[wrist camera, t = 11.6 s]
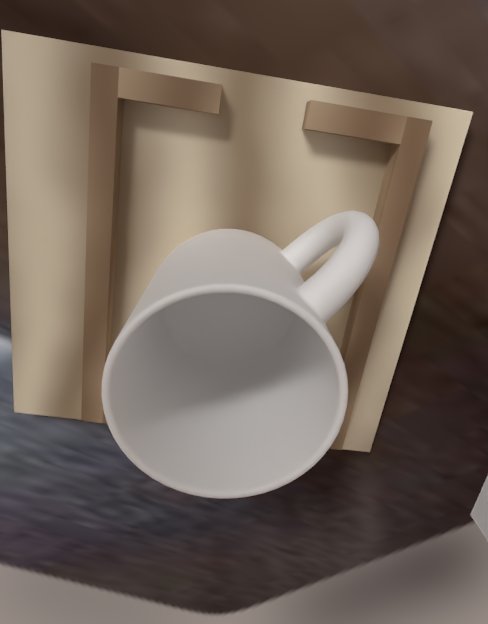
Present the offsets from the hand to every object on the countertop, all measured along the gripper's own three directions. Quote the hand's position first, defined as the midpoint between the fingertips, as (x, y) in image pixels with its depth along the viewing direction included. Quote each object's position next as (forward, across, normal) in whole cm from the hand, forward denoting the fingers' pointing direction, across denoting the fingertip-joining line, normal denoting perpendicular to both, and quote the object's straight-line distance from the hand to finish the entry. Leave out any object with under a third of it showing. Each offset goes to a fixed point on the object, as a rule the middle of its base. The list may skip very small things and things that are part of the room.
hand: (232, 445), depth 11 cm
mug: (+15, +1, 0) cm, 15 cm away
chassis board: (+16, 0, 0) cm, 16 cm away
